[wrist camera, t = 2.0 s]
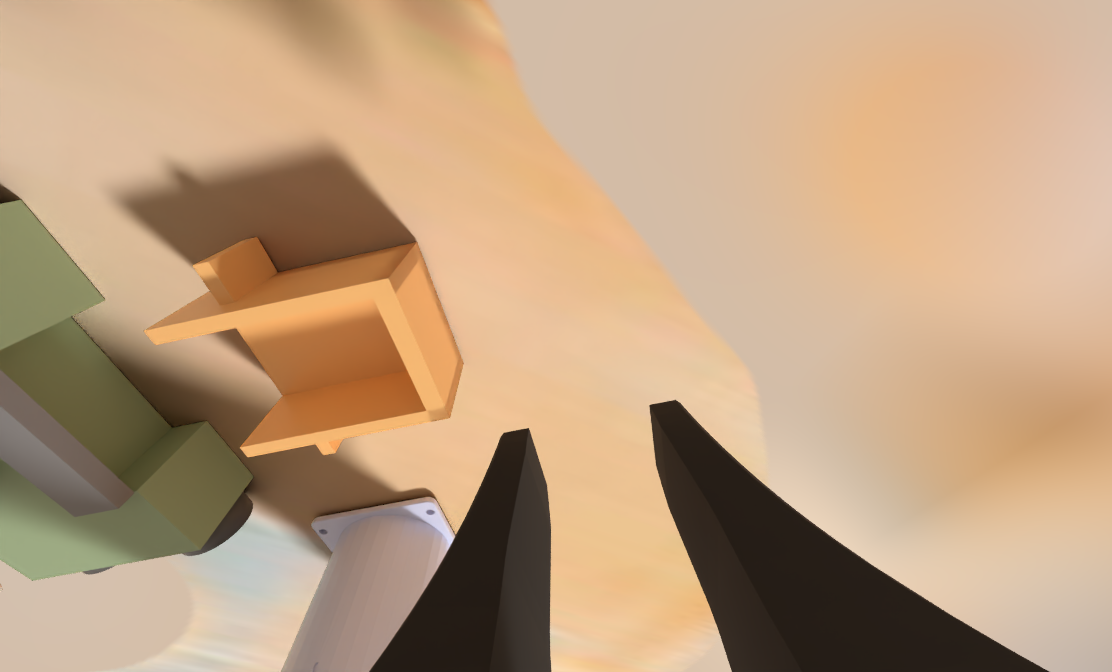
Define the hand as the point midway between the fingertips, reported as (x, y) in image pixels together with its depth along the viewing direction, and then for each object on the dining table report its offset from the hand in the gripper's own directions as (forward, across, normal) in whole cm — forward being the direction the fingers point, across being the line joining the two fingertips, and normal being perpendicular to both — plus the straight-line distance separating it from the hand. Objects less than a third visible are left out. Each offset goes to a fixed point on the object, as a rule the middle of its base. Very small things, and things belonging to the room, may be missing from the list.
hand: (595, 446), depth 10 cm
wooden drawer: (+10, +10, 0) cm, 15 cm away
